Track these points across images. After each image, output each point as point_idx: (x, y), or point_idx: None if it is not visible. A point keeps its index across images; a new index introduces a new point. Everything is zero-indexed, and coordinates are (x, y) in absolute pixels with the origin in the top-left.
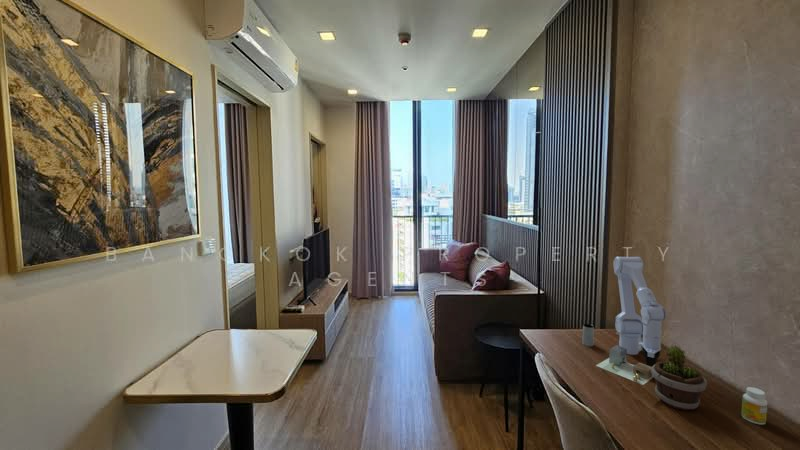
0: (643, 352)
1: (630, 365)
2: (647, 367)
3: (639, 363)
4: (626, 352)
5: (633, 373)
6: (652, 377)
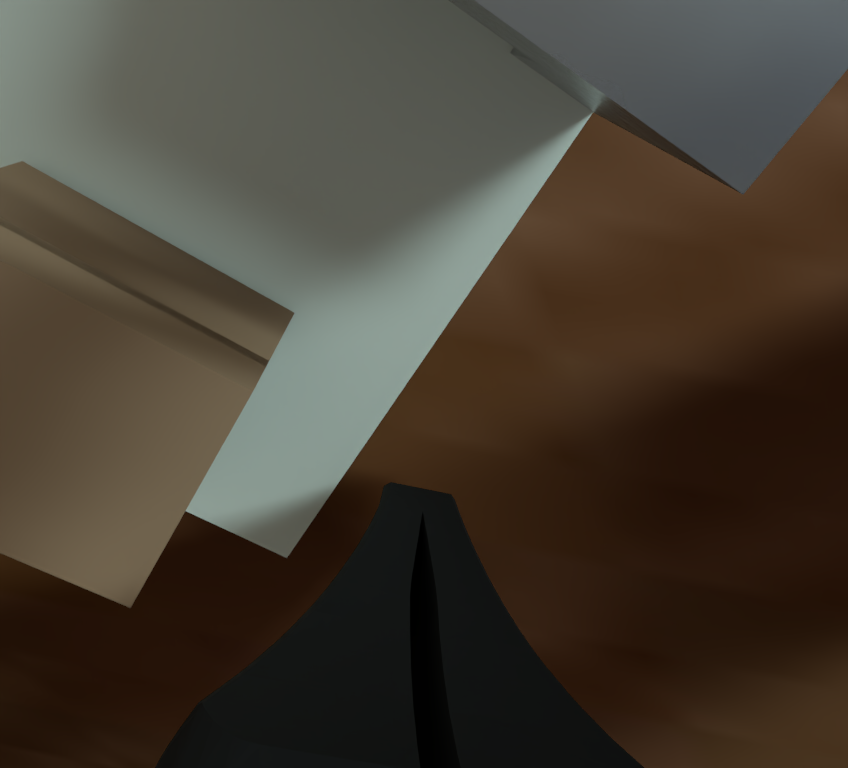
0: (178, 738)
1: (446, 181)
2: (50, 506)
3: (182, 388)
4: (663, 147)
5: (52, 170)
6: None
